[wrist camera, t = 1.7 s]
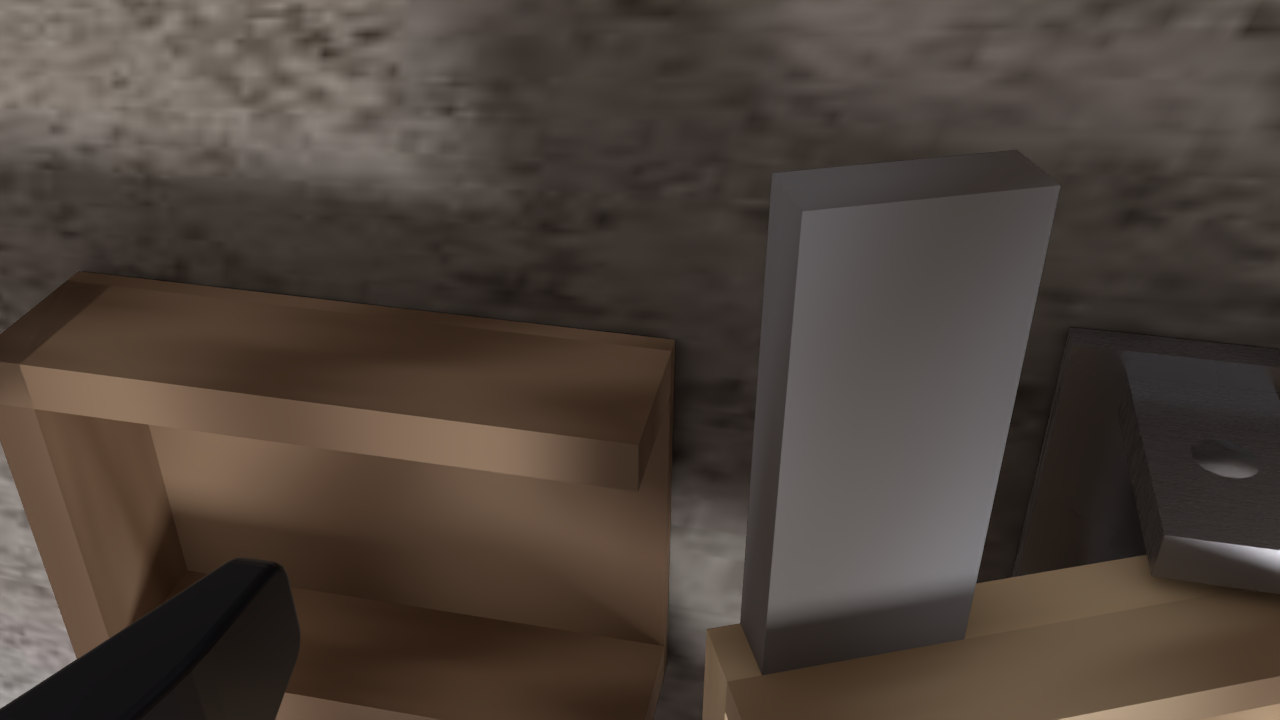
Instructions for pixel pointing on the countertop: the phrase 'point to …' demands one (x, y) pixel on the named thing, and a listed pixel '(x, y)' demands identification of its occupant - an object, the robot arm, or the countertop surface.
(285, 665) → the robot arm
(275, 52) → the countertop surface
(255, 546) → the tray
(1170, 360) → the stand
